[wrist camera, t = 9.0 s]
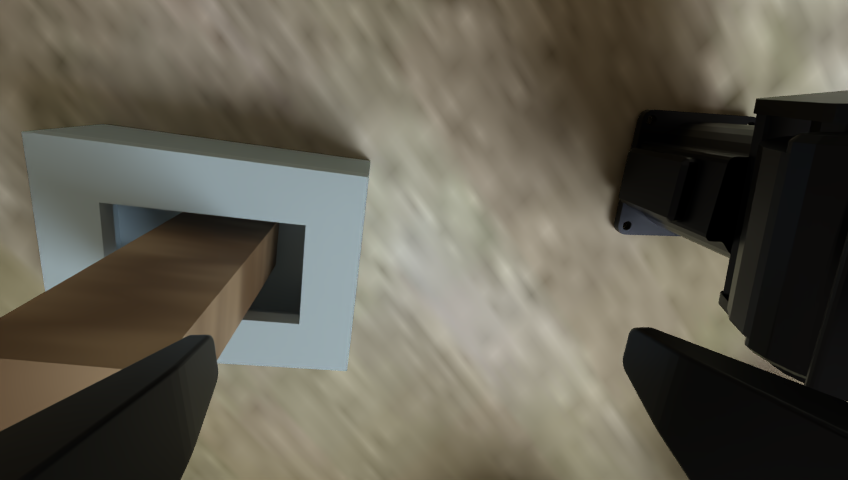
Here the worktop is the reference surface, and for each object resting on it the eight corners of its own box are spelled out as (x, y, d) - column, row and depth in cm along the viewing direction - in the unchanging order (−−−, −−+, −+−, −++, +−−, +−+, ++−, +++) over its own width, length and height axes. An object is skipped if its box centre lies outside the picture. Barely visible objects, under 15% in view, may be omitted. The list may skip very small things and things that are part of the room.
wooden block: (279, 218, 20) (155, 371, 9) (275, 265, 21) (155, 460, 10) (193, 205, 20) (-61, 352, 8) (192, 254, 20) (-42, 449, 9)
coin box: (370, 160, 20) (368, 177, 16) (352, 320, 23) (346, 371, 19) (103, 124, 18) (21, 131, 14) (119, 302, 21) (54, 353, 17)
